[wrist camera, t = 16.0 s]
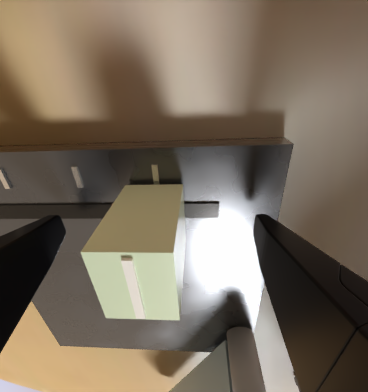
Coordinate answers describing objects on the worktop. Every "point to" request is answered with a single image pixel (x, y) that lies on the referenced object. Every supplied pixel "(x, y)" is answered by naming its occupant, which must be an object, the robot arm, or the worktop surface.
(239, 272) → the console
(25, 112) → the worktop surface
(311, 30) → the worktop surface
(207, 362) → the door
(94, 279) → the fader knob
